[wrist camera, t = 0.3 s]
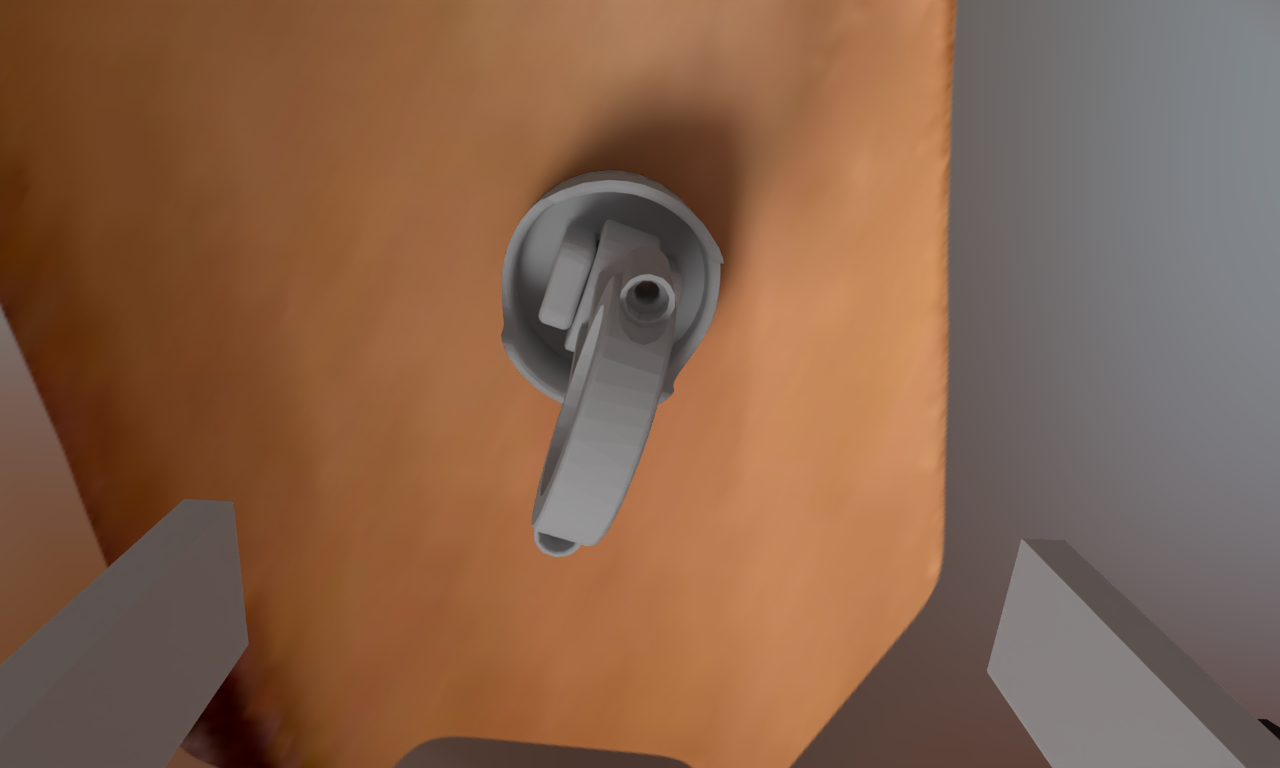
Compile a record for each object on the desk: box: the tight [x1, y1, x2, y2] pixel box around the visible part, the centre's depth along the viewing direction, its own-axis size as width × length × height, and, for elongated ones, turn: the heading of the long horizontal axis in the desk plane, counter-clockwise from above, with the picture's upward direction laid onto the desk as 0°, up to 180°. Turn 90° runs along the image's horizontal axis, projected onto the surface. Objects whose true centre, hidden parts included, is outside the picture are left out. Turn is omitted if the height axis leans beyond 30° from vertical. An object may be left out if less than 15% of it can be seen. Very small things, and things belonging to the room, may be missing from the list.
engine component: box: [501, 170, 724, 557], centre depth 29 cm, size 11×20×10 cm
